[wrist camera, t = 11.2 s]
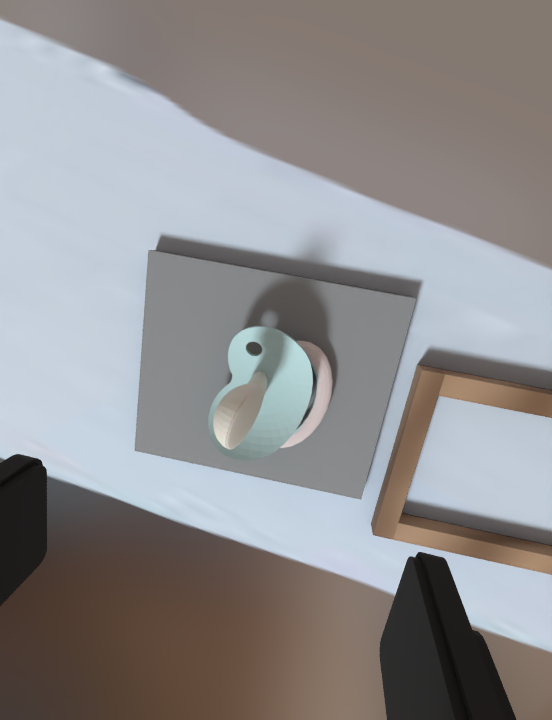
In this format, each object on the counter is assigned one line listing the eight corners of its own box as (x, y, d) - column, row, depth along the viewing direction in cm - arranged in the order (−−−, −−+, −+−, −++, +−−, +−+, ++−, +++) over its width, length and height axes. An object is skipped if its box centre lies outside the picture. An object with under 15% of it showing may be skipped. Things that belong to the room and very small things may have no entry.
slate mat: (412, 296, 20) (416, 298, 19) (359, 491, 23) (361, 499, 22) (154, 250, 21) (148, 250, 20) (140, 444, 24) (134, 450, 23)
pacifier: (350, 345, 20) (243, 308, 20) (368, 386, 14) (216, 334, 14) (304, 459, 22) (207, 426, 22) (303, 536, 16) (171, 492, 16)
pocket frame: (677, 414, 20) (695, 422, 19) (595, 572, 23) (607, 586, 22) (417, 364, 21) (421, 369, 20) (370, 523, 24) (373, 534, 23)
